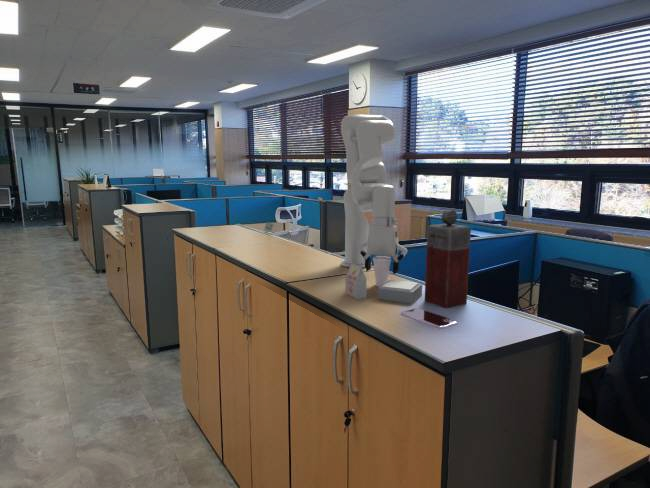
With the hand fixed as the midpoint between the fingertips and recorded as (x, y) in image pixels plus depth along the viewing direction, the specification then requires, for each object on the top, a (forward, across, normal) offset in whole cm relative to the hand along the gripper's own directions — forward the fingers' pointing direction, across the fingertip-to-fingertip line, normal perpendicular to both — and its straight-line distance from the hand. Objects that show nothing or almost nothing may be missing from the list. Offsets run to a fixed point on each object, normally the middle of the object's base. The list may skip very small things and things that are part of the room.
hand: (381, 271), depth 162 cm
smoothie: (+5, 0, 0) cm, 5 cm away
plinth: (+5, -10, +11) cm, 16 cm away
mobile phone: (+5, -23, +28) cm, 37 cm away
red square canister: (+5, -23, +10) cm, 26 cm away
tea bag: (+5, +3, +16) cm, 17 cm away
